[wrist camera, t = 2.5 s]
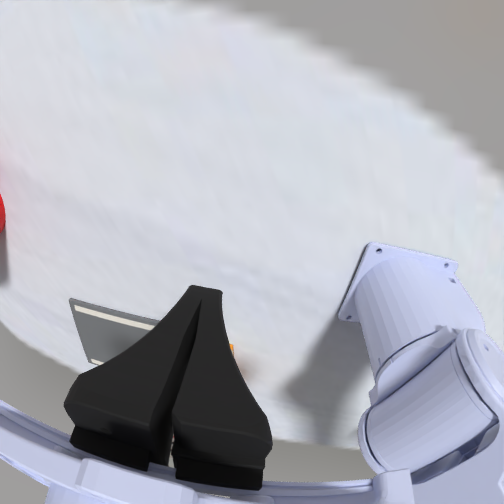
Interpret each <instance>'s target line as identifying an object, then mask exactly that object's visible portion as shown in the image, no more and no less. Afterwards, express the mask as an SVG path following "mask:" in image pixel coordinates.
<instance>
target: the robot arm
mask: <svg viewBox="0 0 504 504" xmlns="http://www.w3.org/2000/svg"><path fill="white" fill-rule="evenodd" d="M379 248H381V250H380V251H378V252H376V250H377V249H379ZM446 263H447V264H446ZM445 264H446V265H445ZM457 268H458V263H457V262H456V261H455V260H451V259H447V258H442V257H438V256H434V255H429V254H425V253H421V252H416V251H412V250H407V249H403V248H398V247H394V246H389V245H385V244H380V243H375V242H372V243H369V244H368V245H367V247H366V250H365V252H364V255H363V257H362V260H361V262H360V265H359V267H358V269H357V272H356V274H355V277H354V279H353V281H352V284H351V286H350V288H349V291H348V293H347V295H346V298H345V300H344V302H343V304H342V306H341V309H340V311H339V313H338V318H339V319H340V320H342V321H350V322H358V323H360V324H361V328H362V331H363V335H364V339H365V343H366V347H367V351H368V355H369V359H370V363H371V367H372V371H373V376H374V380H375V386H374V388H373V389H372V390H371V391H370V392H369V397H370V402H371V407H369V408H368V409H367V410H366V411H365V412H364V413H363V415H362V416H361V418H360V421H359V425H358V441H359V446H360V449H361V452H362V454H363V457H364V459H365V460H366V462H367V463H368V465H369V466H370V467H371V469H372V470H373V471H374V472H375V473H377V474H378V475H376V476H375V477H374V478H373V479H363V480H352V481H337V482H273V481H263V469H264V468H265V458H266V457H267V455H268V454H269V452H270V451H271V450H272V445H273V443H272V435H271V430H270V426H269V423H268V419H267V416H266V415H265V414H264V412H263V411H262V409H261V408H260V406H259V405H258V403H257V402H256V400H255V399H254V397H253V395H252V394H251V392H250V390H249V389H248V387H247V385H246V383H245V381H244V379H243V377H242V375H241V373H240V371H239V369H238V366H237V364H236V361H235V359H234V356H233V354H232V351H231V348H230V344H229V341H228V337H227V333H226V329H225V324H224V319H223V312H222V294H223V293H222V291H221V290H217V289H212V288H206V287H201V286H196V285H191V286H189V288H188V289H187V291H186V292H185V293H184V295H183V296H182V297H181V299H180V300H179V301H178V302H177V304H176V305H175V306H174V307H173V308H172V309H171V310H170V311H169V313H168V314H167V315H166V316H165V317H164V318H163V319H162V320H161V321H160V322H159V323H158V324H157V325H156V326H155V327H154V328H153V329H151V330H150V331H149V332H148V333H147V334H146V335H145V336H143V337H142V338H141V339H140V340H138V341H137V342H136V343H134V344H133V345H132V346H130V347H129V348H128V349H126V350H125V351H123V352H122V353H120V354H119V355H117V356H115V357H113V358H112V359H110V360H108V361H107V362H105V363H103V364H101V365H99V366H97V367H95V368H93V369H91V370H89V371H87V372H84V373H82V374H80V375H79V376H78V377H77V379H76V380H75V382H74V384H73V385H72V387H71V388H70V391H69V393H68V395H67V397H66V399H65V402H64V408H65V410H66V412H67V414H68V415H69V416H70V418H71V420H72V421H73V422H74V424H75V427H74V430H73V433H72V435H68V434H67V433H64V432H62V431H59V430H57V429H55V428H53V427H51V426H49V425H47V424H44V423H43V422H40V421H38V420H36V419H35V418H32V417H31V416H29V415H27V414H25V413H23V412H21V411H19V410H18V409H16V408H14V407H12V406H10V405H9V404H7V403H5V402H4V401H2V400H0V458H1V459H2V460H4V461H5V462H7V463H8V464H10V465H11V466H13V467H15V468H16V469H18V470H19V471H21V472H23V473H25V474H26V475H28V476H30V477H31V478H33V479H35V480H37V481H39V482H40V483H42V484H44V485H46V486H48V487H49V490H48V493H47V496H46V500H45V503H44V504H504V353H503V352H502V350H501V349H500V348H499V346H498V345H497V344H496V343H495V342H494V340H493V339H492V338H491V337H490V336H488V335H487V334H486V329H485V323H484V319H483V316H482V314H481V312H480V311H479V309H478V307H477V306H476V304H475V303H474V301H473V300H472V298H471V297H470V295H469V294H468V292H467V291H466V289H465V288H464V286H463V285H462V283H461V282H460V280H459V279H458V277H457V276H456V275H455V272H456V270H457ZM349 315H350V316H349ZM347 316H349V317H347ZM173 434H174V441H173V446H172V440H173ZM171 446H172V450H171ZM170 452H171V456H172V457H173V463H174V468H172V467H168V464H169V458H170ZM205 493H207V494H205ZM210 494H214V495H222V496H230V498H225V497H219V496H214V495H210Z"/></svg>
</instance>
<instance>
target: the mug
mask: <svg viewBox="0 0 504 504" xmlns="http://www.w3.org/2000/svg"><path fill="white" fill-rule="evenodd" d="M4 226H5V208H4V204H3V200H2V197H1V194H0V234H1V232H2V231H3V229H4Z"/></svg>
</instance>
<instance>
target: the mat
mask: <svg viewBox="0 0 504 504" xmlns="http://www.w3.org/2000/svg"><path fill="white" fill-rule="evenodd" d="M69 303H70V307H71V310H72V314H73V317H74V320H75V324H76V327H77V330H78V333H79V336H80V339H81V342H82V345H83V348H84V351H85V354H86V356H87V359H88V362H89V363H92V364H95V365H98V366H99V365H101V364H103V363H105V362H107V361H108V360H110V359H112V358H113V357H115V356H117V355H119V354H120V353H122V352H123V351H125V350H126V349H128V348H129V347H130V346H132V345H133V344H134V343H136V342H137V341H138V340H140V339H141V338H142V337H143V336H145V335H146V334H147V333H148V332H149V331H150V330H151V329H153V328H154V327H155V326H156V325H157V324H158V323H159V322H160V321H158V320H153V319H149V318H145V317H140V316H136V315H132V314H128V313H124V312H120V311H116V310H112V309H108V308H105V307H101V306H97V305H93V304H90V303H86V302H83V301H79V300H76V299H72V298H70V299H69Z"/></svg>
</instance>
